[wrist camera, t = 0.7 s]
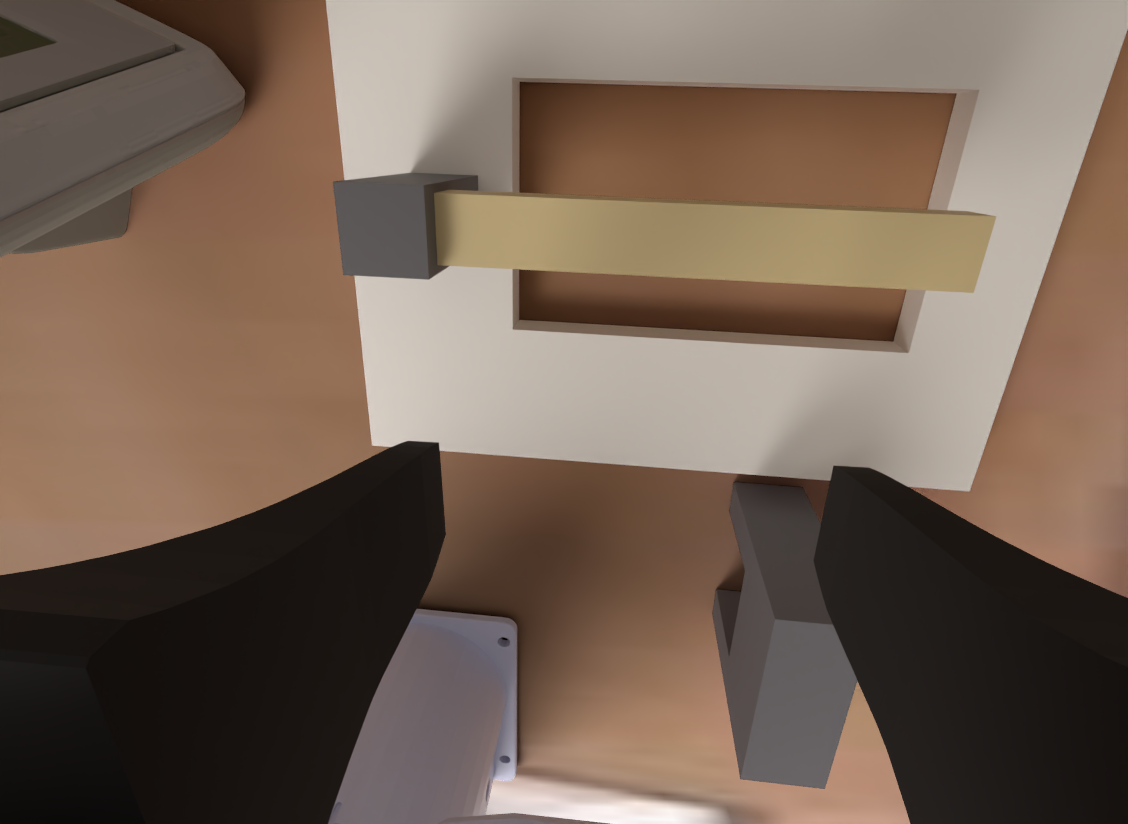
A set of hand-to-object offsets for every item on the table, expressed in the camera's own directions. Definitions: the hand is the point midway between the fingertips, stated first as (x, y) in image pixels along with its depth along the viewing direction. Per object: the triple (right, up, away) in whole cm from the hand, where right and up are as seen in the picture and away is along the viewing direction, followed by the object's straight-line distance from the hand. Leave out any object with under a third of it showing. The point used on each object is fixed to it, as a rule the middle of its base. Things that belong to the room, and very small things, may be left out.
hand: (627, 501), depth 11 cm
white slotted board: (+2, +7, +8) cm, 10 cm away
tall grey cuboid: (+6, -4, +12) cm, 14 cm away
